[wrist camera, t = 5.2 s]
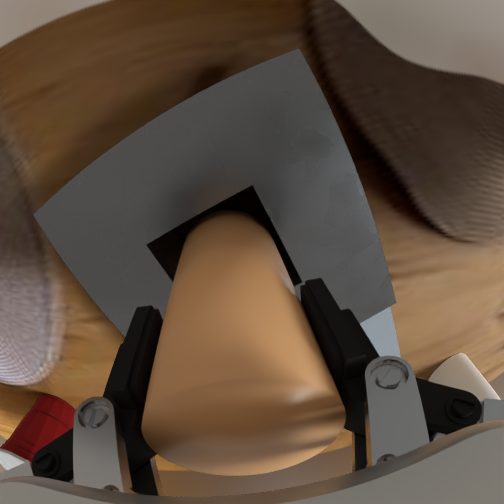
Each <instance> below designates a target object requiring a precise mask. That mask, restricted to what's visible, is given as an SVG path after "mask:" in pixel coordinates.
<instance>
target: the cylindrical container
mask: <svg viewBox="0 0 504 504" xmlns="http://www.w3.org/2000/svg"><path fill="white" fill-rule="evenodd" d="M428 381H430V382H434V383H437V384H441V385H445V386H449V387H453V388H457V389H461V390H465V391H468V392H471V393H472V394H474V395H475V396H476V397H477V398H478V399H479V401H483V400H484V398H488V399H498V400H501V399H500V398H499V397H498V395H497V394H496V392H495V391H494V390H493V389H492V387H491V386H490V385H489V383H488V382H487V381H486V379H485V378H484V377H483V376H482V374H481V373H480V372H479V371H478V369H477V368H476V367H475V366H474V365H473V363H472V362H471V361H470V360H469V358H468V357H467V356H466V355H465V354H464V353H458V354H455V355H453V356H451V357H450V358H448V359H447V360H446V361H444V362H443V363H442V364H441V365H440V366H439V367H438V368H437V369H436V370H435V371H434V372H433V374H432V375H431V376H430V378H429V380H428Z"/></svg>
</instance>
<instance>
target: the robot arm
mask: <svg viewBox="0 0 504 504" xmlns="http://www.w3.org/2000/svg"><path fill="white" fill-rule="evenodd" d="M300 294H301V304H302V307H303V309H304V311H305V314H306V316H307V318H308V321H309V323H310V325H311V328H312V330H313V332H314V335H315V337H316V339H317V342H318V344H319V347H320V349H321V351H322V354H323V356H324V359H325V361H326V363H327V366H328V368H329V371H330V373H331V376H332V378H333V380H334V383H335V385H336V388H337V390H338V393H339V395H340V398H341V400H342V403H343V405H344V408H345V412H346V421H345V424H344V428H345V429H347V430H349V431H352V473H349V474H346V475H342V476H339V477H336V478H331V479H328V480H324V481H319V482H315V483H311V484H306V485H302V486H297V487H292V488H286V489H280V490H274V491H268V492H260V493H251V494H241V495H231V496H212V497H211V496H210V497H172V496H164V493H163V489H162V486H161V481H160V478H159V474H158V469H157V465H156V461H155V457H154V456H155V455H157V453H156V452H155V451H154V450H153V449H152V448H151V447H150V446H149V445H148V444H147V442H146V441H145V439H144V437H143V434H142V429H141V427H142V419H143V413H144V408H145V402H146V397H147V392H148V387H149V382H150V377H151V372H152V368H153V363H154V358H155V354H156V349H157V345H158V341H159V336H160V332H161V328H162V324H163V319H162V317H161V314H160V311H159V309H154V307H153V306H152V305H149V306H142V307H137V308H136V310H135V313H134V315H133V318H132V320H131V323H130V326H129V328H128V331H127V334H126V337H125V339H124V342H123V344H121V345H120V347H119V350H118V353H117V355H116V358H115V361H114V364H113V367H112V370H111V373H110V376H109V379H108V382H107V385H106V388H105V391H104V394H103V397H92V398H89V399H87V400H85V401H84V402H82V403H81V404H80V405H79V406H78V408H77V410H76V411H75V415H74V426H73V428H71V429H70V430H68V431H67V432H65V433H64V434H62V435H61V436H59V437H58V438H56V439H55V440H53V441H52V442H50V443H49V444H47V445H46V446H44V447H42V448H41V449H40V450H38V451H37V452H36V454H35V455H34V457H33V460H32V463H31V462H30V461H27V462H25V463H22V464H20V465H18V466H16V467H14V468H12V469H9V470H7V471H5V472H3V473H1V474H0V504H504V400H498V399H488V398H484V400H483V401H479V399H478V398H477V397H476V396H475V395H474V394H472V393H471V392H468V391H465V390H461V389H457V388H453V387H449V386H445V385H441V384H437V383H434V382H430V381H426V380H423V379H419V378H415V374H414V371H413V369H412V367H411V365H410V364H409V363H408V362H407V361H406V360H404V359H402V358H400V357H396V356H382V357H380V356H379V354H378V352H377V351H376V349H375V348H374V346H373V344H372V343H371V341H370V339H369V338H368V336H367V335H366V333H365V331H364V330H363V328H362V327H361V325H360V323H359V322H358V320H357V319H356V317H355V315H354V314H353V312H352V311H351V310H350V309H343V310H341V309H340V308H339V306H338V304H337V303H336V301H335V299H334V298H333V296H332V294H331V293H330V291H329V289H328V288H327V286H326V285H325V283H324V281H323V280H322V278H316V279H311V280H306V281H305V285H301V286H300Z"/></svg>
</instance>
